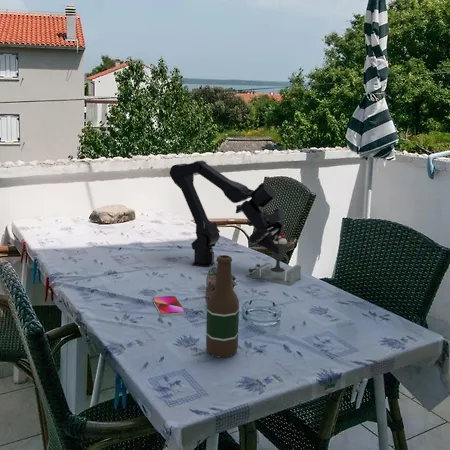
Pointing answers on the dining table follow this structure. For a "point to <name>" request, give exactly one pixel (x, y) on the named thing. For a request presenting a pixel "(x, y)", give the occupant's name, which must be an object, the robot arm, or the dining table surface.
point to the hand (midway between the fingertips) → (282, 251)
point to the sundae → (281, 246)
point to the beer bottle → (222, 313)
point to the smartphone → (168, 306)
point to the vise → (275, 274)
